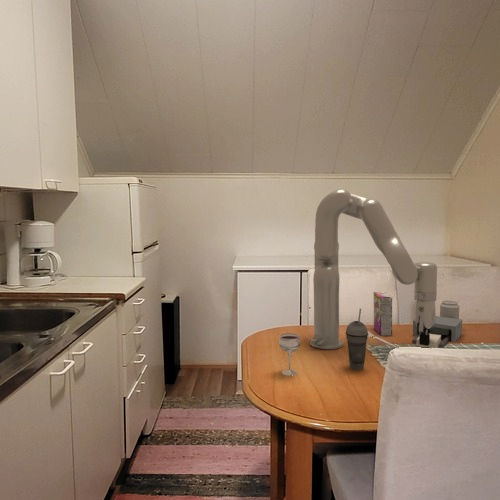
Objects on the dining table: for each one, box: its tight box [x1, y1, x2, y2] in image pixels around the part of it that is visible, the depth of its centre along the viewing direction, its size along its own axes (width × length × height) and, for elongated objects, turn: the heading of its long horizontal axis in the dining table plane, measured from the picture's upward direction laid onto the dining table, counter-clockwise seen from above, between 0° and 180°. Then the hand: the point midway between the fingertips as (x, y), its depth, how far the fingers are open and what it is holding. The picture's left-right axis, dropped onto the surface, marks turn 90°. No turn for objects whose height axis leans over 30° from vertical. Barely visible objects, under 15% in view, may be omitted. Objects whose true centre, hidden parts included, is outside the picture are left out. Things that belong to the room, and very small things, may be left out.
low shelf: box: [411, 315, 463, 348], centre depth 167 cm, size 22×16×6 cm
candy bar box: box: [373, 291, 393, 337], centre depth 176 cm, size 11×5×16 cm, turn 179°
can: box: [439, 300, 460, 319], centre depth 179 cm, size 8×8×12 cm
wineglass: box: [278, 332, 301, 377], centre depth 134 cm, size 7×7×12 cm
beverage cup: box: [345, 308, 369, 371], centre depth 137 cm, size 7×7×20 cm
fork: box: [367, 329, 398, 349], centre depth 165 cm, size 3×20×2 cm, turn 22°
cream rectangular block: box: [416, 333, 442, 348], centre depth 161 cm, size 10×7×3 cm
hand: (424, 344), depth 155 cm, fingers closed
